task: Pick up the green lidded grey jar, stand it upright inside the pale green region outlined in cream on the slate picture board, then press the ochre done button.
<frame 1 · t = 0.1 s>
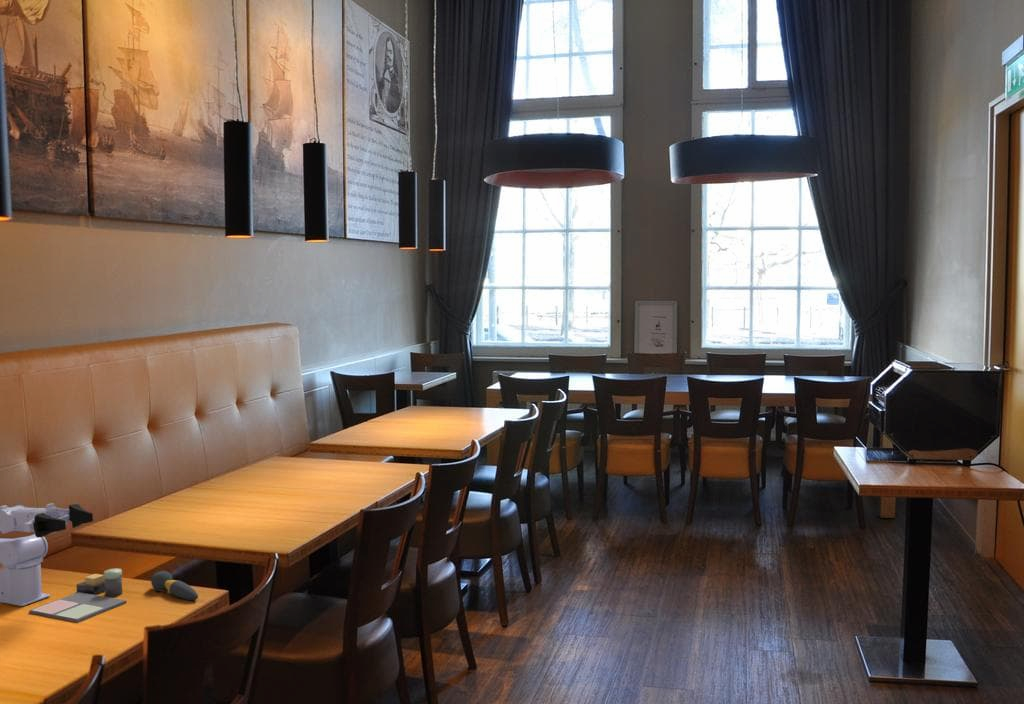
hand: (78, 521, 212), 22 cm above the table, fingers open, 7 cm apart
green lidded grey jar: (113, 594, 225), on the table
button housing: (95, 590, 228), on the table
picture board: (78, 607, 215), on the table
done button: (94, 580, 228), point 3 cm above the table, slide at 0.0 cm
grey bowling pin: (175, 594, 225), on the table
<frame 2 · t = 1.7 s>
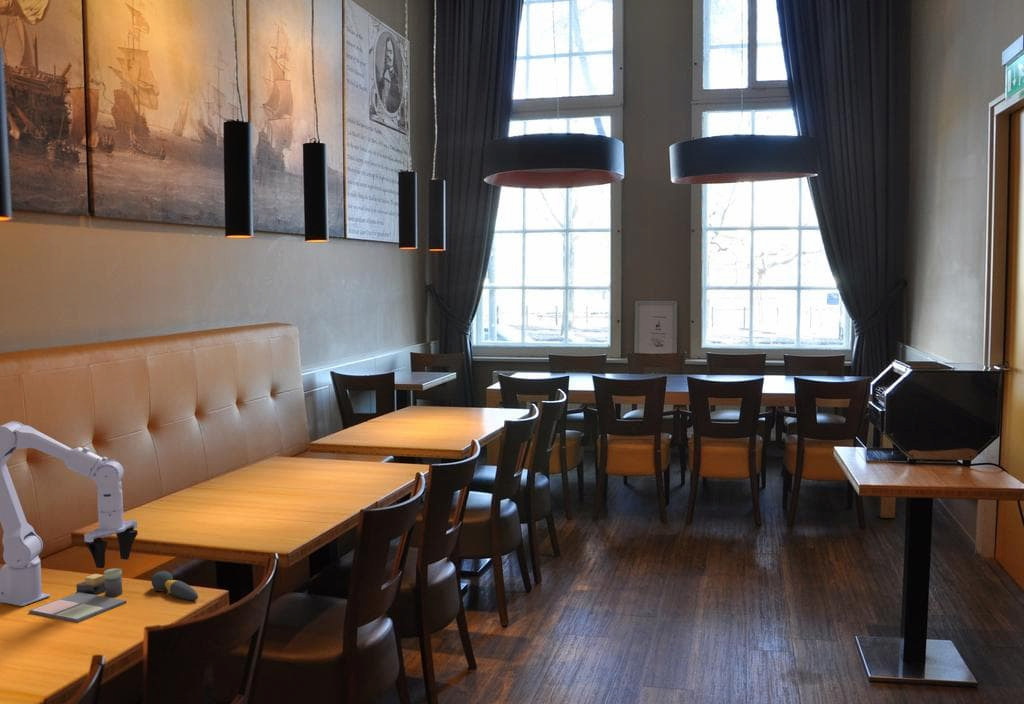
hand: (112, 563, 224), 8 cm above the table, fingers open, 7 cm apart
nothing on the table moved.
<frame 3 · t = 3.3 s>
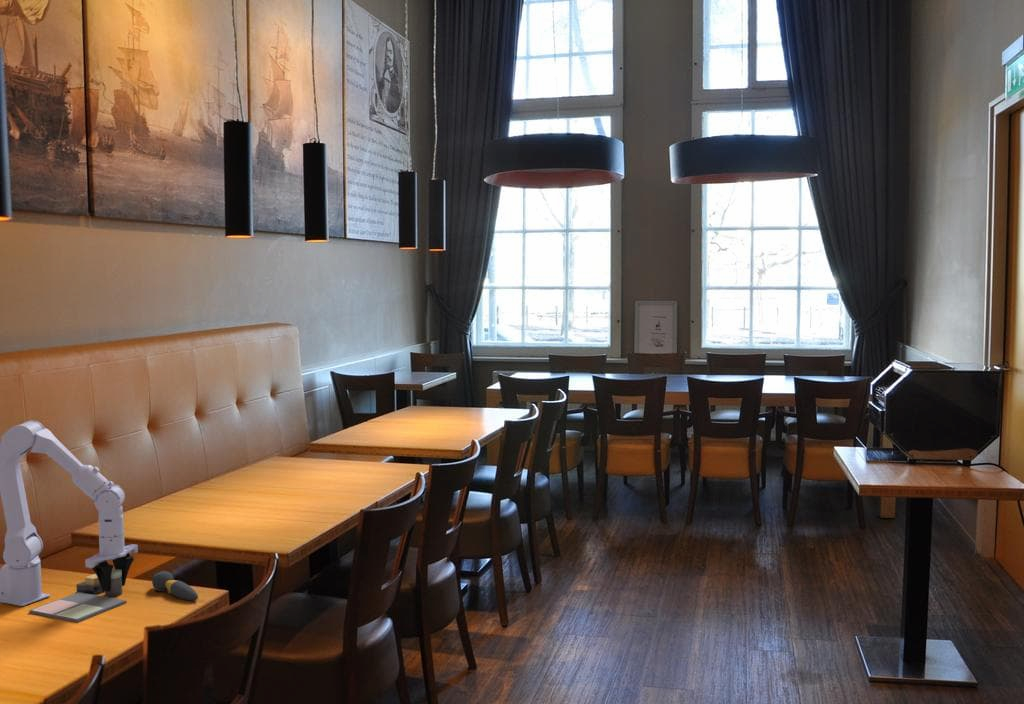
hand: (113, 587, 225), 2 cm above the table, fingers closed on green lidded grey jar, 4 cm apart
green lidded grey jar: (113, 594, 225), on the table, touching gripper
everything else where it was.
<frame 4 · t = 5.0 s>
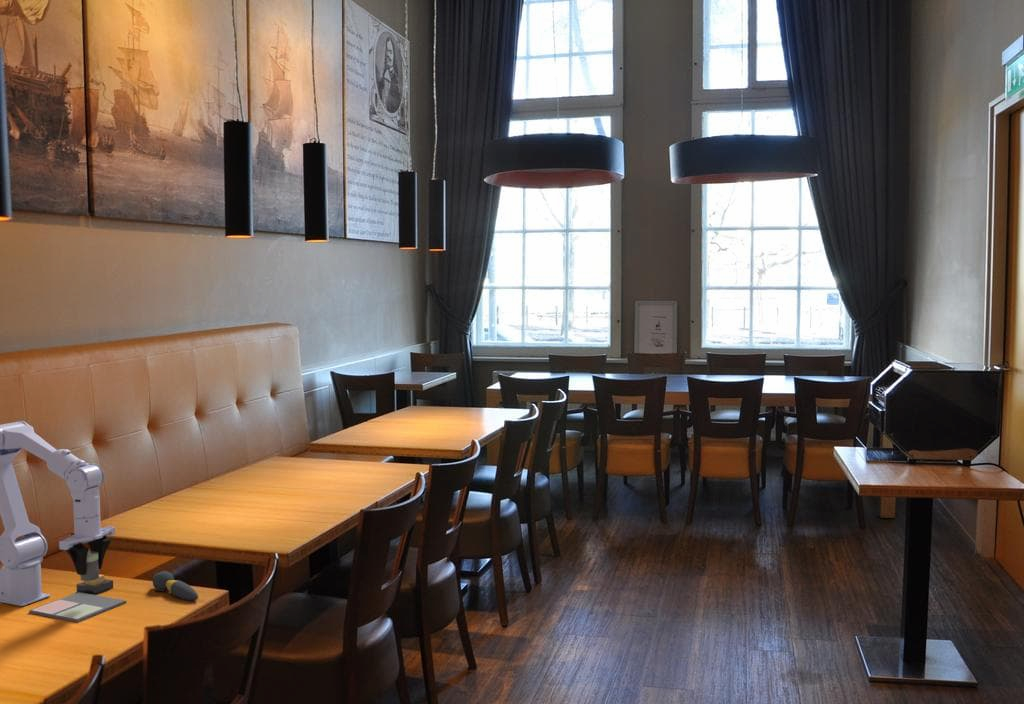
hand: (89, 571, 214), 9 cm above the table, fingers closed on green lidded grey jar, 4 cm apart
green lidded grey jar: (89, 578, 214), point 7 cm above the table, touching gripper
everything else where it was.
when the fingers open (3 cm above the table, at t = 6.8 s): green lidded grey jar stays where it is, resting on picture board.
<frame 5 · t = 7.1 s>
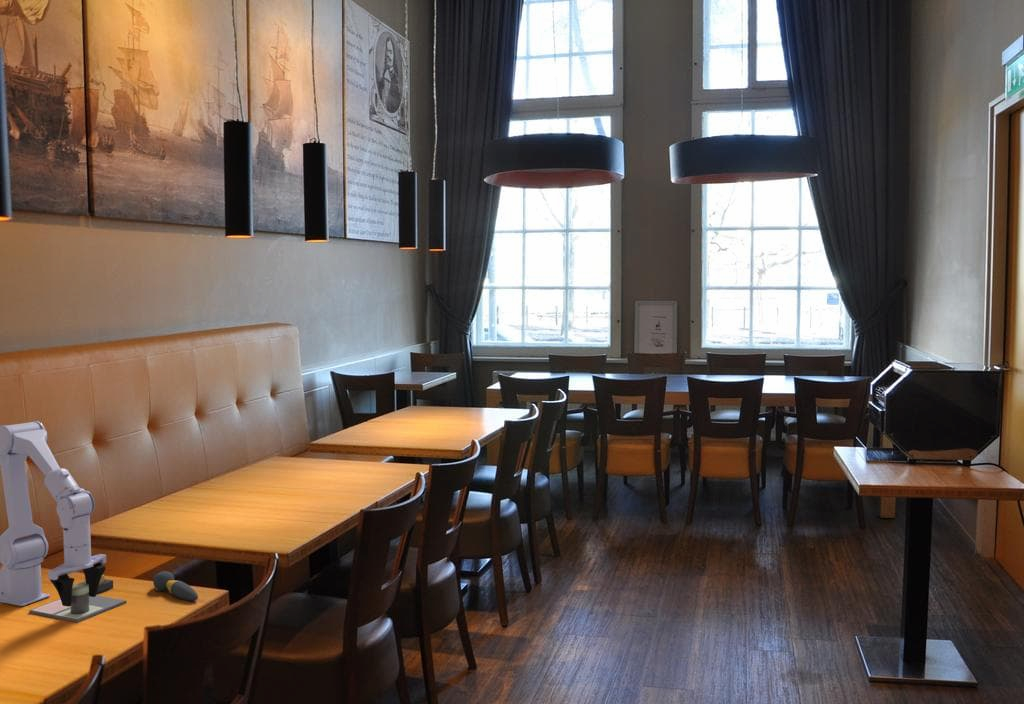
hand: (79, 600, 211), 3 cm above the table, fingers open, 6 cm apart
green lidded grey jar: (80, 611, 211), point 1 cm above the table, touching picture board
everything else where it was.
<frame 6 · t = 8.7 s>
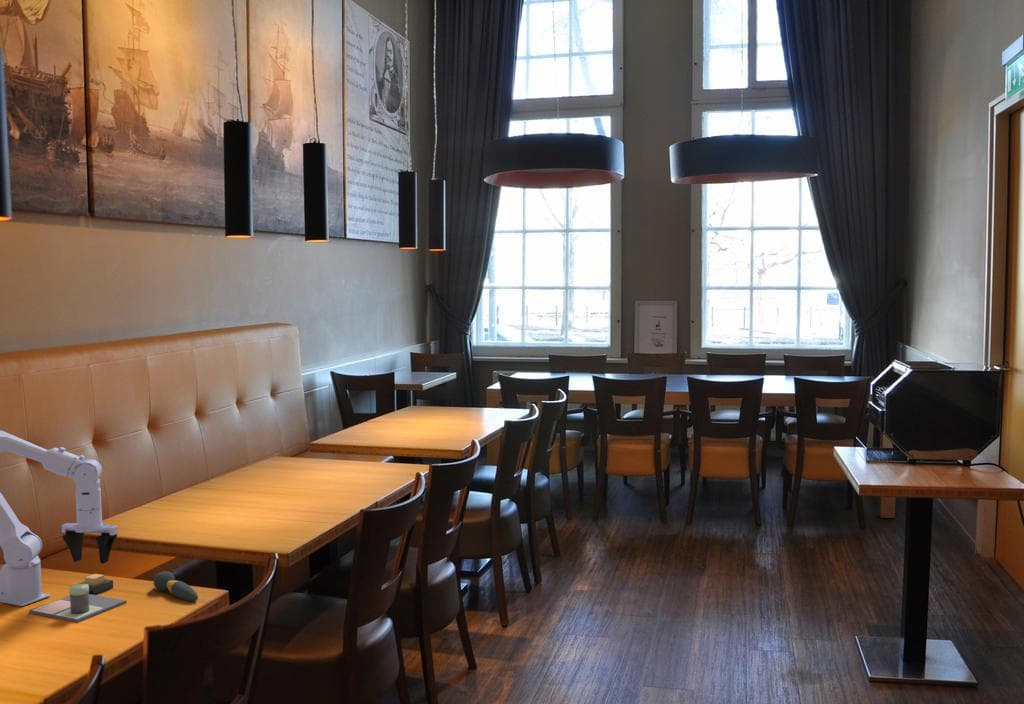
hand: (90, 561, 224), 8 cm above the table, fingers open, 7 cm apart
nothing on the table moved.
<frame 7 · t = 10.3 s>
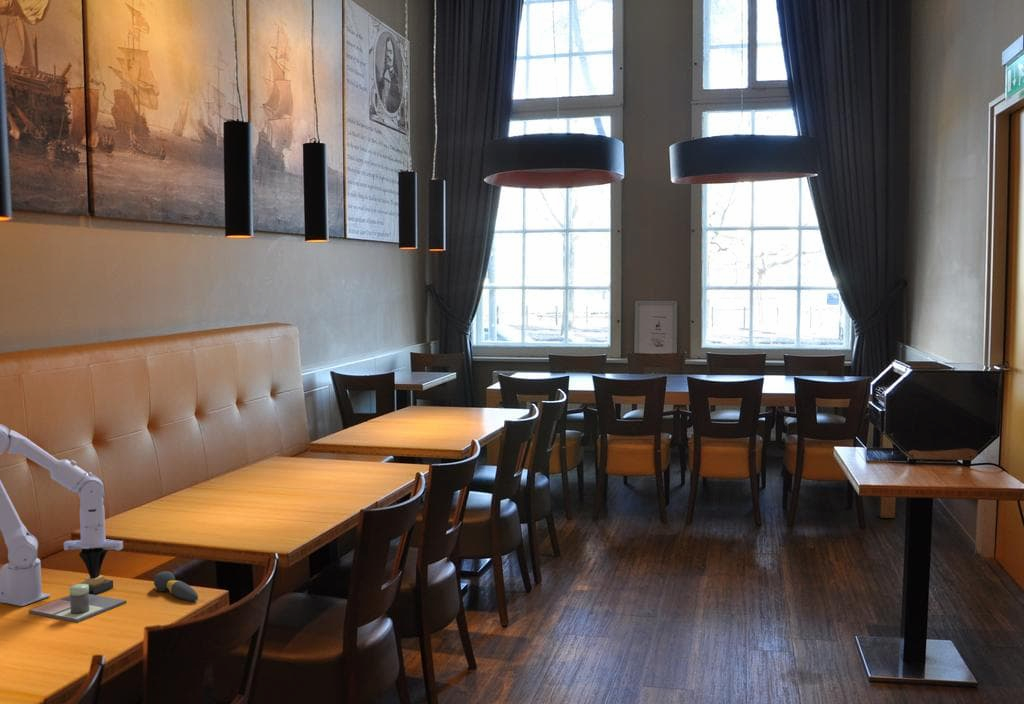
hand: (94, 577, 228), 3 cm above the table, fingers closed, pressing on done button
done button: (94, 580, 228), point 2 cm above the table, slide at 0.2 cm, touching gripper
everything else where it was.
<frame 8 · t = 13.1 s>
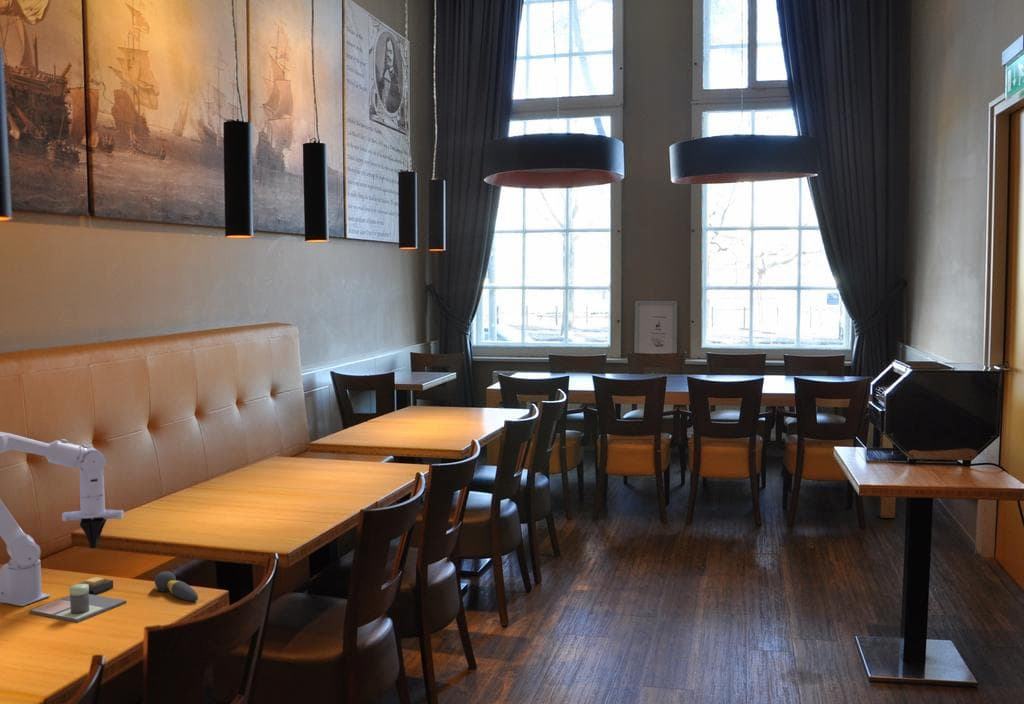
hand: (94, 547, 230), 10 cm above the table, fingers closed
done button: (94, 583, 228), point 2 cm above the table, slide at 0.8 cm
everything else where it was.
at the end: green lidded grey jar 0.1 cm from the target spot, point 0.7 cm above the table; green lidded grey jar tilted 0°; done button slide at 0.8 cm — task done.
